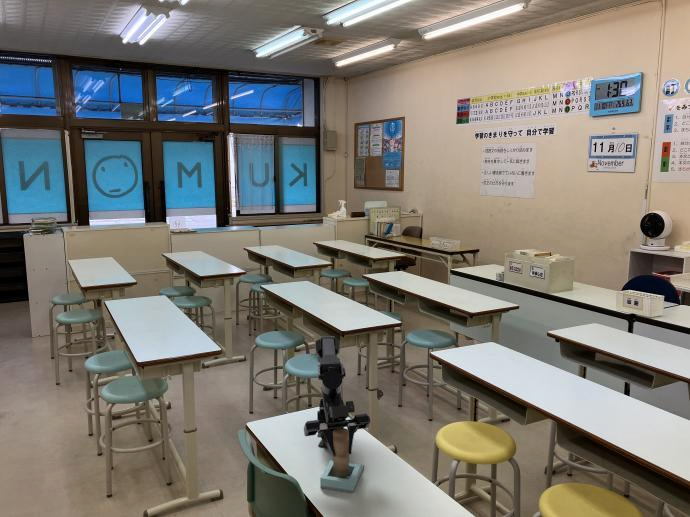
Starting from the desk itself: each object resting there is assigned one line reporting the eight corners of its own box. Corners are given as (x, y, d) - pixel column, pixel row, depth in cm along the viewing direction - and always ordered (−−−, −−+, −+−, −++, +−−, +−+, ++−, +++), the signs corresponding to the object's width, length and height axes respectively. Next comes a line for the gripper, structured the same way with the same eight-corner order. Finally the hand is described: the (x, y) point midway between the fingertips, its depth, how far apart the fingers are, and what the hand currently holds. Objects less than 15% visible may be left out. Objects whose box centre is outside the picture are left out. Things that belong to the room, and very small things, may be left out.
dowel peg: (338, 467, 156) (338, 426, 154) (351, 472, 154) (351, 430, 151) (330, 475, 152) (330, 433, 150) (343, 480, 150) (343, 437, 148)
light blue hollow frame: (333, 462, 163) (333, 453, 162) (364, 467, 160) (364, 458, 160) (320, 487, 150) (320, 478, 150) (353, 493, 148) (352, 483, 147)
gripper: (304, 395, 150) (313, 452, 142) (368, 387, 155) (380, 442, 146) (300, 408, 159) (308, 462, 151) (361, 401, 164) (371, 453, 155)
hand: (342, 455), depth 151 cm, fingers closed on dowel peg, 4 cm apart
